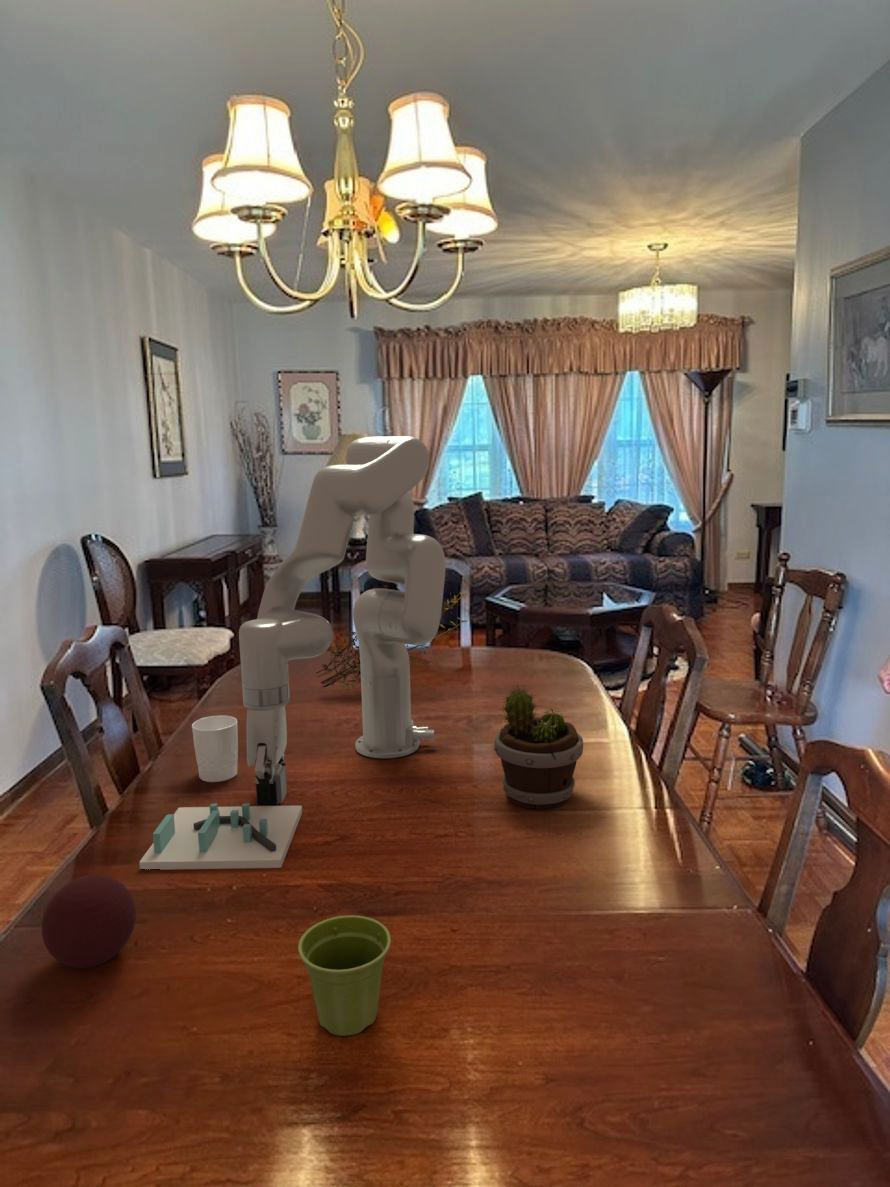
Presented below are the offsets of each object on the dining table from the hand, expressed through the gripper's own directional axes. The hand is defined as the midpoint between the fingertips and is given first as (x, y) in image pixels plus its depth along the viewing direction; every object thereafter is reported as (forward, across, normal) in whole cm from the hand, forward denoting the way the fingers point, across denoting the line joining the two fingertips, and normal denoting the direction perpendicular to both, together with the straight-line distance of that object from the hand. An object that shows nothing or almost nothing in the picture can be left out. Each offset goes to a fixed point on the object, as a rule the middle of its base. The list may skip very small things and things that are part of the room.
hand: (272, 793), depth 133 cm
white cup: (+1, -10, -12) cm, 16 cm away
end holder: (0, +17, -9) cm, 19 cm away
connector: (+1, 0, 0) cm, 1 cm away
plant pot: (+1, +52, +19) cm, 55 cm away
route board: (+1, +14, -4) cm, 15 cm away
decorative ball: (+1, +42, -12) cm, 44 cm away
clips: (0, +13, -2) cm, 14 cm away
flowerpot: (+1, +1, +45) cm, 45 cm away
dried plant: (+1, -59, +19) cm, 62 cm away
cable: (0, +15, -2) cm, 16 cm away
